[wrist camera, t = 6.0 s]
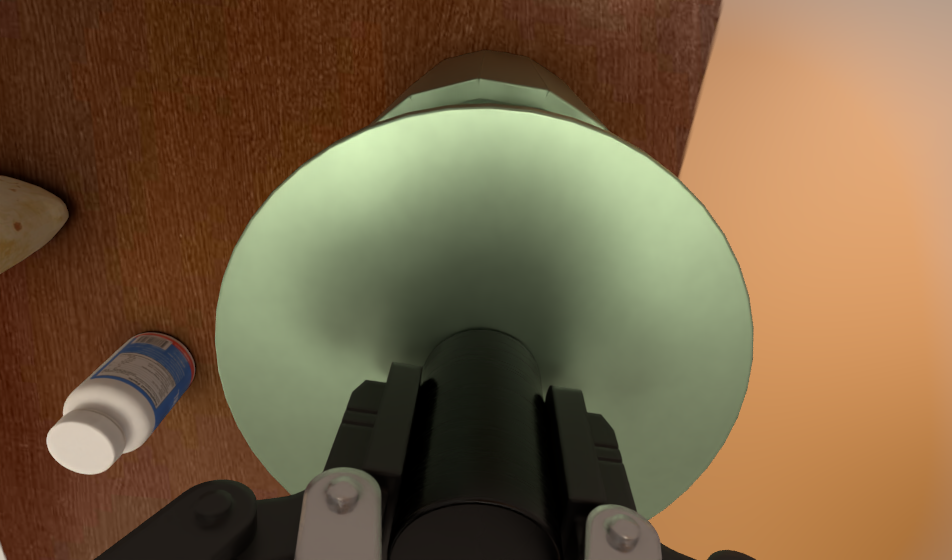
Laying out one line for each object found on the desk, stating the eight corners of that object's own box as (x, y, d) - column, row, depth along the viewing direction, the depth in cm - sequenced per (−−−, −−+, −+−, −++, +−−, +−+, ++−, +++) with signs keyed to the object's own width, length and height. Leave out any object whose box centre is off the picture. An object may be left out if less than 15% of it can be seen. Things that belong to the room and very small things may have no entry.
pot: (400, 34, 34) (334, 53, 20) (610, 70, 35) (689, 113, 21) (381, 233, 39) (318, 359, 25) (564, 262, 40) (602, 401, 26)
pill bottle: (162, 402, 46) (82, 497, 37) (109, 351, 44) (12, 439, 35) (213, 370, 44) (143, 461, 35) (161, 316, 43) (73, 398, 34)
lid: (226, 52, 13) (-6, 92, 7) (820, 151, 13) (1084, 268, 7) (235, 506, 18) (111, 745, 12) (654, 562, 19) (728, 818, 13)
